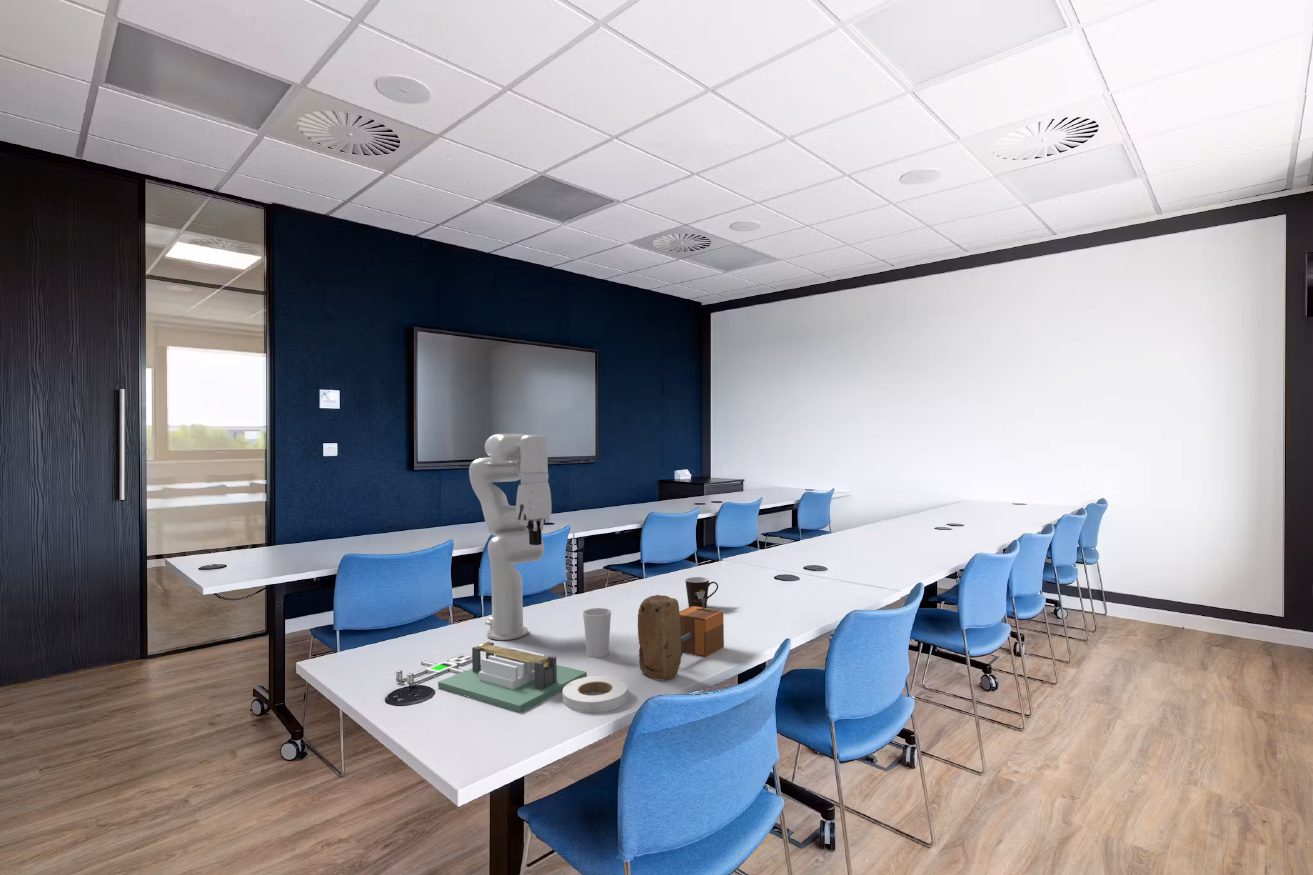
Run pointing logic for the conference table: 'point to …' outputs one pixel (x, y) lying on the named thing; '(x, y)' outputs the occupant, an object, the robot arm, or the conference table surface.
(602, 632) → the cup
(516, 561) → the robot arm
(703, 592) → the coffee mug
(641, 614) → the block
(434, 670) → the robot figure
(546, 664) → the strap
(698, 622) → the clamp
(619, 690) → the roll of tape
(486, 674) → the motherboard
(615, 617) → the conference table surface
